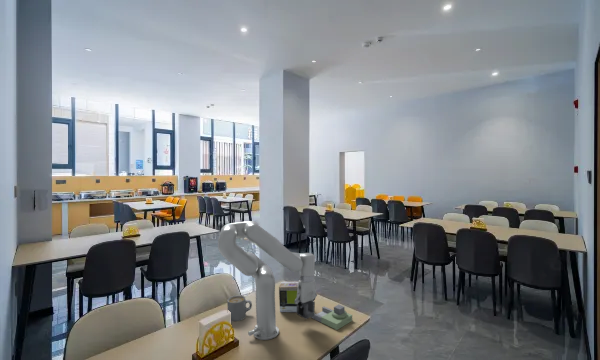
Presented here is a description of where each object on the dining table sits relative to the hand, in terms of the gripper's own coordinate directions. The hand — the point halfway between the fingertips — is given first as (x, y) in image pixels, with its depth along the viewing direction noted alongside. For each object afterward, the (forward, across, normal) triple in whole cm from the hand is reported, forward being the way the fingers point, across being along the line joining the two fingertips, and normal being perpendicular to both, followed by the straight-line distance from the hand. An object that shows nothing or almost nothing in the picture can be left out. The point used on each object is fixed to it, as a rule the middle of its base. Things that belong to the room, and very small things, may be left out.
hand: (305, 312), depth 145 cm
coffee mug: (+10, -17, +35) cm, 40 cm away
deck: (+7, +16, -4) cm, 18 cm away
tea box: (+8, +10, +20) cm, 24 cm away
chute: (+1, 0, 0) cm, 1 cm away
